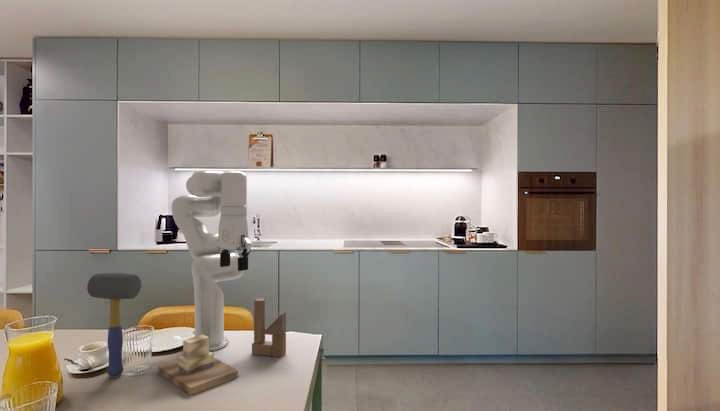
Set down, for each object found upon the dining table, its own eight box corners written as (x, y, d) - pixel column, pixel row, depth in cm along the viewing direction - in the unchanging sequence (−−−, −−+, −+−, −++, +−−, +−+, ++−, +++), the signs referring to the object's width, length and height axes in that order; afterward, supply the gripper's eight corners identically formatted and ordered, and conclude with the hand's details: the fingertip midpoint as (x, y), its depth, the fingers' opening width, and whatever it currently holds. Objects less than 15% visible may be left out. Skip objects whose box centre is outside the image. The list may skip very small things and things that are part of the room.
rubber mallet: (144, 371, 117) (143, 271, 116) (126, 383, 109) (125, 276, 109) (105, 369, 118) (104, 270, 117) (85, 381, 110) (84, 275, 110)
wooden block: (281, 357, 127) (281, 302, 127) (251, 354, 130) (251, 300, 129) (286, 353, 131) (286, 299, 131) (256, 350, 133) (256, 297, 133)
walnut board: (158, 372, 116) (158, 366, 116) (203, 358, 126) (203, 352, 126) (190, 395, 103) (190, 387, 103) (238, 377, 114) (238, 370, 113)
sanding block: (186, 375, 110) (186, 344, 110) (178, 369, 113) (178, 340, 113) (213, 365, 116) (213, 337, 116) (205, 361, 120) (205, 333, 119)
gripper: (207, 211, 122) (207, 266, 122) (238, 213, 111) (238, 273, 111) (229, 211, 128) (229, 263, 128) (261, 212, 117) (261, 270, 117)
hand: (233, 268), depth 120 cm, fingers open, 9 cm apart
